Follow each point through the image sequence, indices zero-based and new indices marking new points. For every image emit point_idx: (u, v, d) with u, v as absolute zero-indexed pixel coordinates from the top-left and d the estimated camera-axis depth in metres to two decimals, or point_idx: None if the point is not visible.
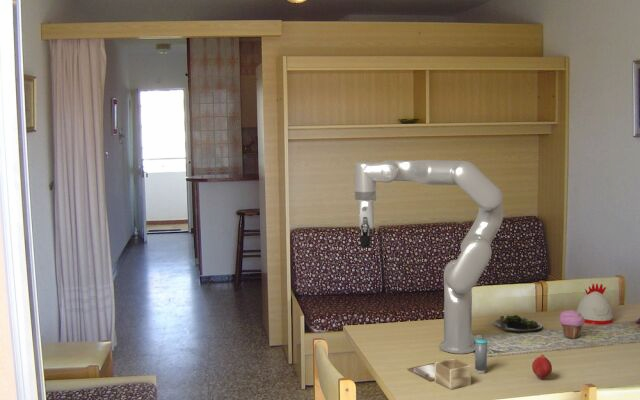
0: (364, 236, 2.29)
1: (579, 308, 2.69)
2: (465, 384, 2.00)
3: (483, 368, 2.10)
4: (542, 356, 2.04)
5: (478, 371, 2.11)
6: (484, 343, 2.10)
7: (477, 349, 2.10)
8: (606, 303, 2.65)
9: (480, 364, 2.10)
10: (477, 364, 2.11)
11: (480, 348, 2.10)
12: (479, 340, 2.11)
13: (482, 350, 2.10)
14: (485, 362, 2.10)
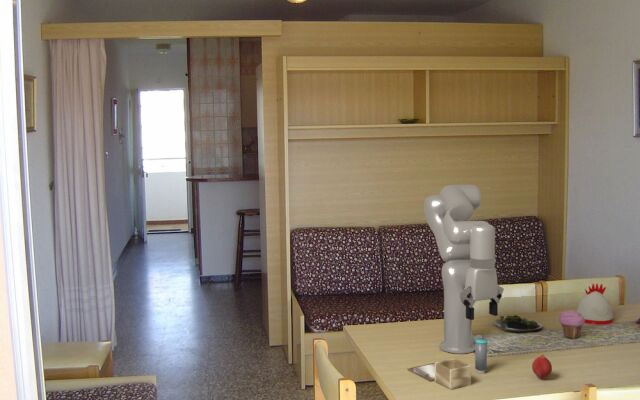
0: None
1: (579, 308, 2.69)
2: (465, 384, 2.00)
3: (483, 368, 2.10)
4: (542, 356, 2.04)
5: (478, 371, 2.11)
6: (484, 343, 2.10)
7: (477, 349, 2.10)
8: (606, 303, 2.65)
9: (480, 364, 2.10)
10: (477, 364, 2.11)
11: (480, 348, 2.10)
12: (479, 340, 2.11)
13: (482, 350, 2.10)
14: (485, 362, 2.10)
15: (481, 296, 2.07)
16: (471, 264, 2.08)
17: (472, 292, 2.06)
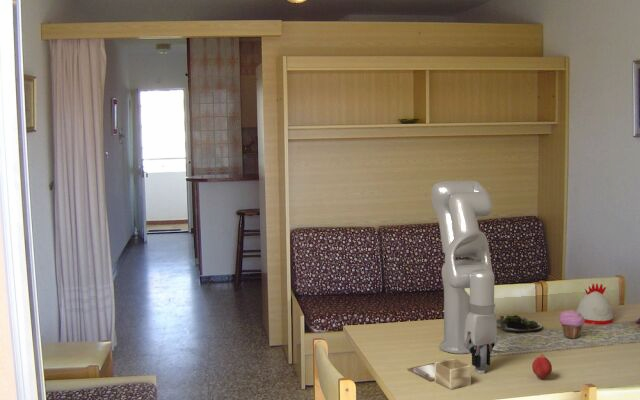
0: None
1: (579, 308, 2.69)
2: (465, 384, 2.00)
3: (483, 368, 2.10)
4: (542, 356, 2.04)
5: (478, 371, 2.11)
6: None
7: None
8: (606, 303, 2.65)
9: (480, 364, 2.10)
10: None
11: (480, 348, 2.10)
12: None
13: (482, 350, 2.10)
14: (485, 362, 2.10)
15: (480, 341, 2.08)
16: (471, 309, 2.09)
17: None
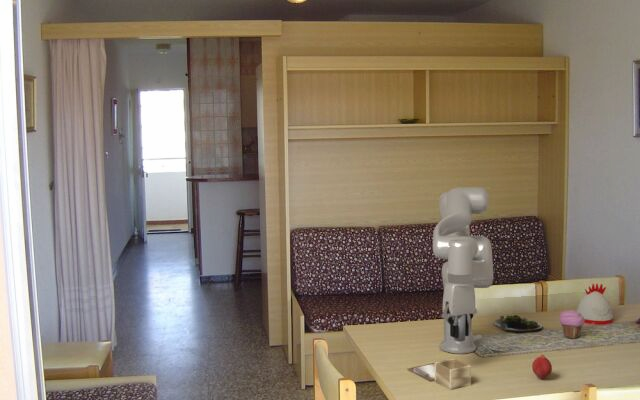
0: None
1: (579, 308, 2.69)
2: (465, 384, 2.00)
3: (461, 339, 2.09)
4: (542, 356, 2.04)
5: (457, 342, 2.10)
6: None
7: None
8: (606, 303, 2.65)
9: (458, 335, 2.09)
10: None
11: (458, 318, 2.08)
12: None
13: (460, 321, 2.08)
14: (463, 333, 2.09)
15: (458, 311, 2.07)
16: (449, 279, 2.08)
17: None
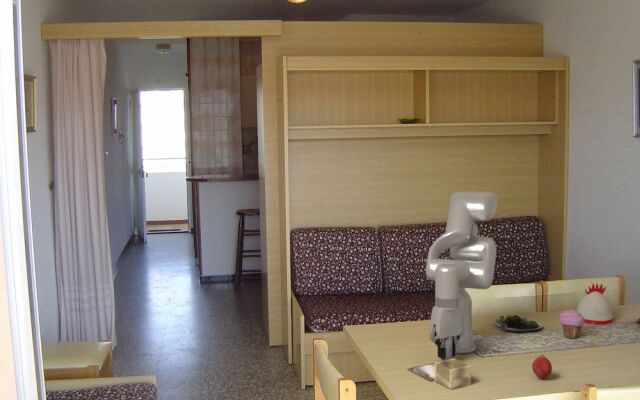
0: None
1: (579, 308, 2.69)
2: (465, 384, 2.00)
3: None
4: (542, 356, 2.04)
5: None
6: None
7: None
8: (606, 303, 2.65)
9: (446, 356, 2.16)
10: None
11: (445, 340, 2.15)
12: None
13: (447, 343, 2.15)
14: (450, 354, 2.16)
15: (445, 334, 2.14)
16: (436, 303, 2.15)
17: (438, 335, 2.14)
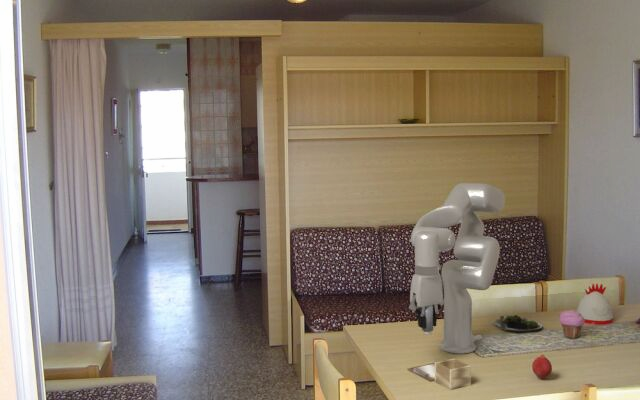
0: None
1: (579, 308, 2.69)
2: (465, 384, 2.00)
3: (429, 329, 2.12)
4: (542, 356, 2.04)
5: (425, 332, 2.13)
6: None
7: None
8: (606, 303, 2.65)
9: (426, 325, 2.11)
10: None
11: (426, 309, 2.11)
12: None
13: (427, 312, 2.11)
14: (431, 323, 2.12)
15: (425, 302, 2.09)
16: (416, 271, 2.10)
17: None
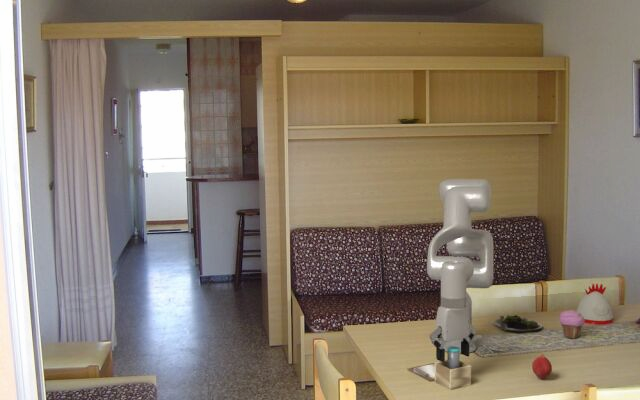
0: None
1: (579, 308, 2.69)
2: (465, 384, 2.00)
3: None
4: (542, 356, 2.04)
5: None
6: (456, 351, 2.00)
7: (449, 357, 2.01)
8: (606, 303, 2.65)
9: None
10: None
11: (452, 356, 2.00)
12: (451, 348, 2.02)
13: (454, 359, 2.00)
14: None
15: (452, 336, 1.98)
16: (442, 303, 2.00)
17: (442, 333, 1.98)
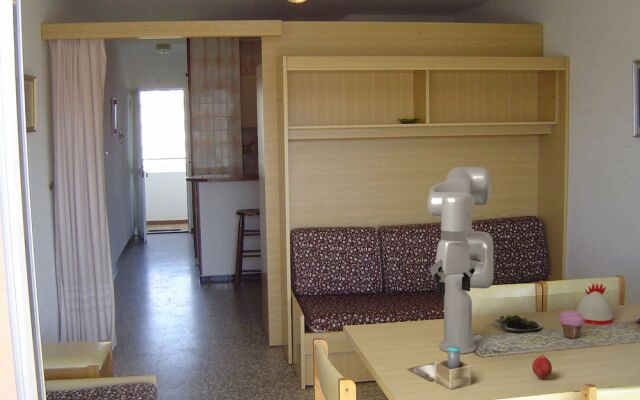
0: None
1: (579, 308, 2.69)
2: (465, 384, 2.00)
3: None
4: (542, 356, 2.04)
5: None
6: (456, 351, 2.00)
7: (449, 357, 2.01)
8: (606, 303, 2.65)
9: None
10: None
11: (452, 356, 2.00)
12: (451, 348, 2.02)
13: (454, 359, 2.00)
14: None
15: (452, 270, 1.96)
16: (442, 237, 1.97)
17: (443, 266, 1.96)
